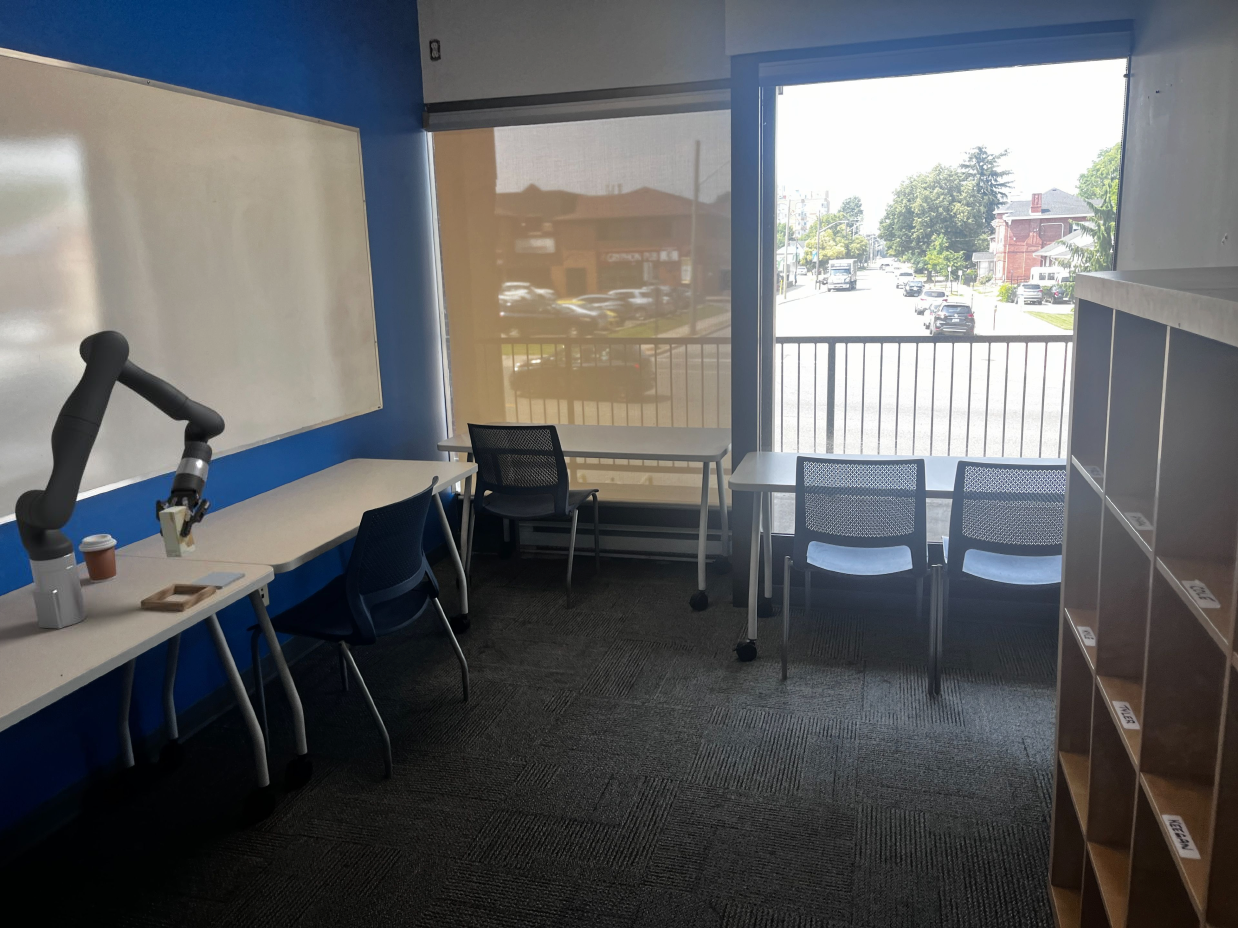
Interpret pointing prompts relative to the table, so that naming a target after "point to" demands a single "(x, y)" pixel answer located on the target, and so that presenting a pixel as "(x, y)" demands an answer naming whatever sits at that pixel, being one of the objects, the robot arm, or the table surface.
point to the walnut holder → (158, 602)
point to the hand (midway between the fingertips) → (173, 536)
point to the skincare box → (175, 532)
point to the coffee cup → (99, 557)
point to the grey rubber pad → (219, 579)
